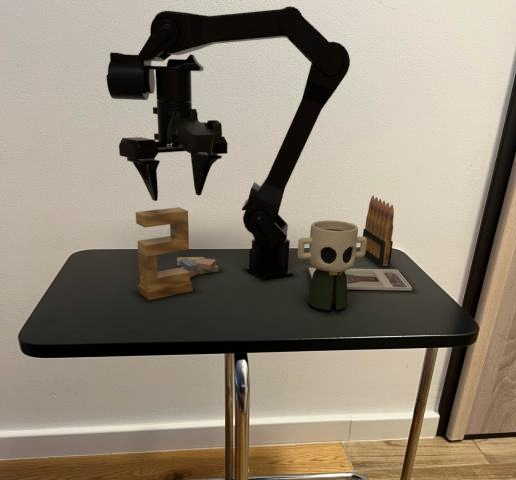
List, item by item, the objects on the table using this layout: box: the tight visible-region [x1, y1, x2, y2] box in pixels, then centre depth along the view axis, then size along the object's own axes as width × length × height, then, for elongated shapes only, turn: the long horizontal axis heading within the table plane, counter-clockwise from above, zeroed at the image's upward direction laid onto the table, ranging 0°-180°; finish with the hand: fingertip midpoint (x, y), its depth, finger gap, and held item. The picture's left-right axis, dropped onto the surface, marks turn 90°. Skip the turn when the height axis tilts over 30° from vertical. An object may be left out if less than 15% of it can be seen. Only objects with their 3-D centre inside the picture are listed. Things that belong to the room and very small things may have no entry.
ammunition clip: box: [362, 195, 395, 268], centre depth 108 cm, size 11×2×12 cm, turn 13°
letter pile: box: [176, 256, 220, 278], centre depth 100 cm, size 8×6×2 cm
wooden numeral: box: [135, 206, 194, 301], centre depth 87 cm, size 8×4×13 cm, turn 126°
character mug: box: [297, 219, 367, 311], centre depth 84 cm, size 11×7×13 cm, turn 101°
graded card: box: [308, 267, 413, 292], centre depth 98 cm, size 10×1×17 cm
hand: (177, 197), depth 96 cm, fingers open, 9 cm apart
